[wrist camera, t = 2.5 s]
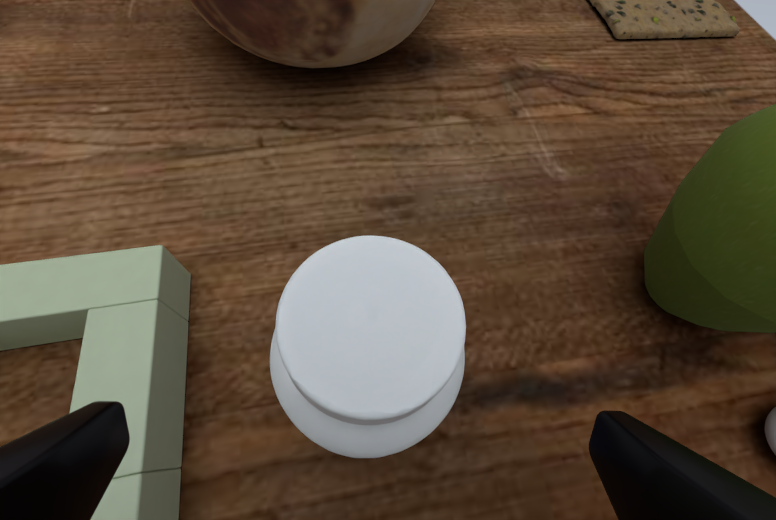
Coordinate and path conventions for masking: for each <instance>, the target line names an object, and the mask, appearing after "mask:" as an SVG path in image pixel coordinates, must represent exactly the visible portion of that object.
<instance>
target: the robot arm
mask: <svg viewBox="0 0 776 520" xmlns="http://www.w3.org/2000/svg"><path fill="white" fill-rule="evenodd" d="M129 442H130V435H129V430H128V425H127V420H126V415H125V410H124V406H123V405H122V404H121V403H120V402H118V401H95V402H92V403H90V404H88V405H86V406H83V407H81V408H79V409H77V410H75V411H73V412H71V413H69V414H67V415H65V416H63V417H61V418H59V419H57V420H55V421H53V422H51V423H49V424H46V425H44V426H42V427H40V428H38V429H36V430H34V431H32V432H30V433H28V434H26V435H24V436H22V437H20V438H18V439H16V440H14V441H11V442H9V443H7V444H5V445H3V446H1V447H0V520H91V518H92V516H93V514H94V512H95V510H96V508H97V507H98V505H99V503H100V501H101V499H102V497H103V495H104V493H105V492H106V490H107V488H108V486H109V484H110V482H111V480H112V478H113V477H114V475H115V473H116V471H117V469H118V467H119V465H120V463H121V461H122V460H123V458H124V456H125V454H126V452H127V449H128V447H129ZM589 452H590V456H591V459H592V461H593V463H594V465H595V468H596V470H597V472H598V474H599V477H600V479H601V481H602V483H603V486H604V488H605V490H606V492H607V495H608V497H609V499H610V502H611V504H612V506H613V508H614V511H615V513H616V515H617V517H618V520H776V498H775V497H773V496H772V495H770V494H768V493H766V492H765V491H763V490H761V489H759V488H758V487H756V486H754V485H752V484H750V483H749V482H747V481H745V480H743V479H742V478H740V477H738V476H736V475H735V474H733V473H731V472H729V471H727V470H726V469H724V468H722V467H720V466H719V465H717V464H715V463H713V462H712V461H710V460H708V459H706V458H704V457H703V456H701V455H699V454H697V453H696V452H694V451H692V450H690V449H689V448H687V447H685V446H683V445H681V444H680V443H678V442H676V441H674V440H673V439H671V438H669V437H667V436H666V435H664V434H662V433H660V432H658V431H657V430H655V429H653V428H651V427H650V426H648V425H646V424H644V423H643V422H641V421H639V420H637V419H635V418H634V417H632V416H630V415H628V414H627V413H625V412H622V411H601V412H600V413H599V414H598V415H597V417H596V421H595V424H594V428H593V431H592V435H591V438H590V441H589Z"/></svg>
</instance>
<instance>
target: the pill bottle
mask: <svg viewBox="0 0 776 520" xmlns="http://www.w3.org/2000/svg"><path fill="white" fill-rule="evenodd" d="M465 334H466V321H465V312H464V307H463V303H462V299H461V297H460V294H459V292H458V290H457V288H456V286H455V284H454V282H453V281H452V279H451V278H450V276H449V275H448V273H447V272H446V271H445V269H444V268H443V267H442V266H441V265H440V264H439V263H438V262H437V261H436V260H435V259H433V258H432V257H431V256H430V255H429V254H427V253H426V252H424V251H423V250H421V249H420V248H418V247H416V246H414V245H412V244H409V243H407V242H404V241H401V240H398V239H394V238H390V237H383V236H357V237H352V238H347V239H343V240H340V241H337V242H334V243H332V244H330V245H328V246H326V247H324V248H322V249H320V250H319V251H317V252H316V253H314V254H313V255H311V256H310V257H309V258H308V259H307V260H306V261H305V262H304V263H303V264H302V265H301V266H300V267H299V268H298V269H297V270H296V271H295V272H294V274H293V275H292V276H291V278H290V280H289V282H288V283H287V285H286V287H285V289H284V291H283V293H282V296H281V298H280V301H279V305H278V309H277V314H276V327H275V330H274V334H273V338H272V342H271V351H270V371H271V378H272V382H273V386H274V389H275V392H276V395H277V398H278V400H279V402H280V404H281V406H282V408H283V409H284V411H285V412H286V414H287V416H288V417H289V418H290V420H291V421H292V422H293V423H294V425H295V426H296V427H297V428H298V429H299V430H300V431H301V432H302V433H303V434H304V435H306V436H307V437H308V438H309V439H310V440H312V441H313V442H315V443H316V444H318V445H320V446H321V447H323V448H325V449H327V450H329V451H331V452H334V453H336V454H340V455H343V456H347V457H352V458H378V457H383V456H387V455H391V454H395V453H398V452H401V451H403V450H405V449H407V448H409V447H411V446H413V445H415V444H417V443H418V442H419V441H421V440H422V439H424V438H425V437H426V436H428V435H429V434H430V433H431V432H432V431H433V430H434V429H436V427H437V426H438V425H439V424H440V423H441V422H442V420H443V419H444V418H445V417H446V415H447V414H448V413H449V411H450V409H451V407H452V406H453V404H454V402H455V400H456V397H457V395H458V393H459V390H460V387H461V383H462V379H463V374H464V365H465V352H464V343H465Z"/></svg>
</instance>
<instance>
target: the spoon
mask: <svg viewBox="0 0 776 520" xmlns="http://www.w3.org/2000/svg"><path fill="white" fill-rule="evenodd" d="M765 435H766V439H767V442H768V444H769V446H770V448H771V450H772V451H773V452H774V454H775V455H776V407H775V408H773V409H772V410H771V412H770V413H769V415H768V416H767V418H766V422H765Z"/></svg>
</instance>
